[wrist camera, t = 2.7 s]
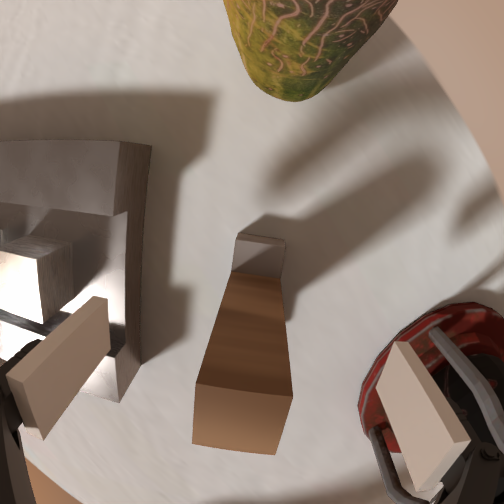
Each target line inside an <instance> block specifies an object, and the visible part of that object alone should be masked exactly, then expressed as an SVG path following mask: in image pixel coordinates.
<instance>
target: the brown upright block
mask: <svg viewBox="0 0 504 504" xmlns="http://www.w3.org/2000/svg"><path fill="white" fill-rule="evenodd" d="M285 249H286V246H285V242H284V240H283V239H276V238H270V237H263V236H257V235H250V234H243V233H238V235H237V237H236V240H235V248H234V255H233V262H232V270H231V274H230V277H229V280H228V283H227V286H226V289H225V292H224V296H223V299H222V302H221V305H220V308H219V311H218V314H217V317H216V321H215V324H214V327H213V330H212V333H211V336H210V339H209V343H208V346H207V349H206V352H205V355H204V358H203V362H202V365H201V368H200V371H199V374H198V378H197V381H196V387H195V402H194V418H193V436H192V444H196V445H202V446H207V447H213V448H220V449H226V450H233V451H241V452H249V453H258V454H268V455H275V454H276V451H277V448H278V444H279V441H280V438H281V435H282V432H283V429H284V425H285V422H286V419H287V416H288V412H289V409H290V406H291V402H292V399H293V391H292V381H291V371H290V361H289V352H288V343H287V334H286V325H285V316H284V307H283V298H282V290H281V281H280V277H281V271H282V266H283V260H284V255H285Z"/></svg>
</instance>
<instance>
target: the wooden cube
mask: <svg viewBox="0 0 504 504" xmlns="http://www.w3.org/2000/svg"><path fill="white" fill-rule="evenodd" d="M73 299H74V285H73V258H72V242H67V241H61V240H56V239H50V238H45V237H39V236H34V235H27V236H24V237H22V238H19V239H16V240H14V241H11V242H9V243H6V244H3V245H1V246H0V309H3V310H6V311H8V312H11V313H14V314H16V315H19V316H22V317H25V318H28V319H31V320H33V321H36V322H39V323H42V324H43V323H44V322H45V321H47V320H48V319H49V318H50V317H52V316H53V315H54V314H56V313H57V312H58V311H59V310H61V309H62V308H63V307H64V306H66V305H67V304H68V303H70V302H71V301H72V300H73Z"/></svg>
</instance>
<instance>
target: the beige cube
mask: <svg viewBox="0 0 504 504" xmlns="http://www.w3.org/2000/svg"><path fill="white" fill-rule="evenodd" d="M3 244H4V243H3V230H2V229H0V246H1V245H3Z"/></svg>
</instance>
